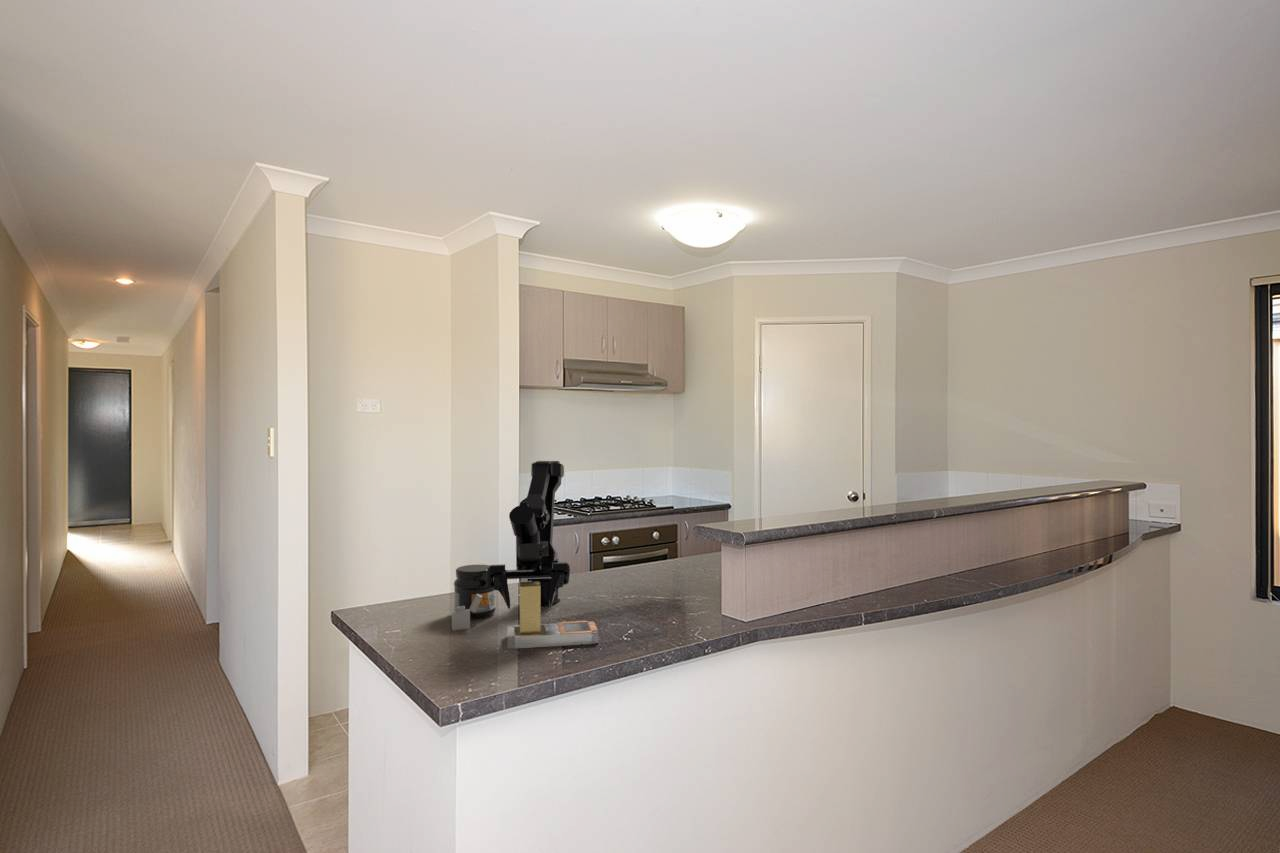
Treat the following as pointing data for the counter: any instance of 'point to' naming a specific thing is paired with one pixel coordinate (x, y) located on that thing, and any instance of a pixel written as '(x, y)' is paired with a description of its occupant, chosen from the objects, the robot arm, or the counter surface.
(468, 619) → the lighter
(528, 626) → the tan block
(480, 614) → the supplement container
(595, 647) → the counter surface
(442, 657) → the counter surface
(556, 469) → the robot arm
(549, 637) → the divided tray
